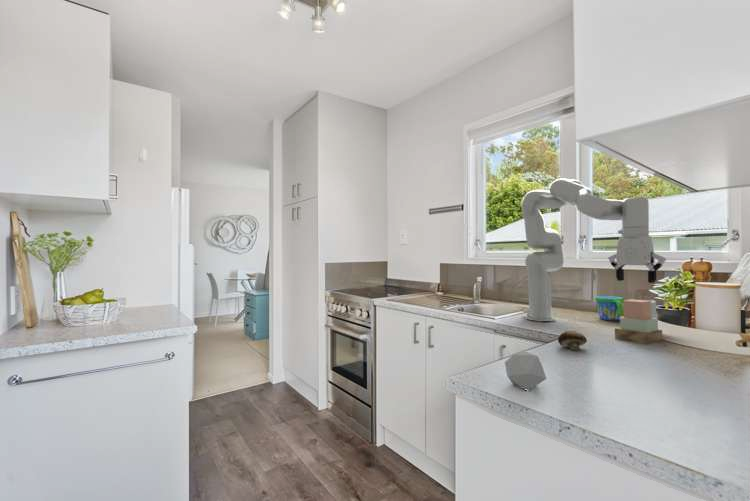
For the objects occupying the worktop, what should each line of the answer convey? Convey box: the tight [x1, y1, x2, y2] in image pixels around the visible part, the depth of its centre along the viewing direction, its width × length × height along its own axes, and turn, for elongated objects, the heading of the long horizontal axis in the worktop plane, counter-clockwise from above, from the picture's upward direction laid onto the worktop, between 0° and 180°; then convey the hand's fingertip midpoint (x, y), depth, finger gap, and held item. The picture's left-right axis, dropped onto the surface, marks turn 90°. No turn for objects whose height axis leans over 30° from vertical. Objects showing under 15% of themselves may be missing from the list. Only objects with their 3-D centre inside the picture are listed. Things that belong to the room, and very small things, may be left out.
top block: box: [619, 316, 659, 333], centre depth 122 cm, size 8×8×4 cm
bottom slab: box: [614, 327, 663, 345], centre depth 122 cm, size 10×10×4 cm
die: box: [504, 350, 547, 391], centre depth 81 cm, size 8×9×10 cm
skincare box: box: [645, 299, 658, 318], centre depth 131 cm, size 6×4×12 cm
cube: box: [622, 298, 652, 320], centre depth 122 cm, size 6×6×6 cm
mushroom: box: [557, 330, 588, 351], centre depth 112 cm, size 8×8×6 cm
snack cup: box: [594, 295, 624, 322], centre depth 159 cm, size 16×10×10 cm
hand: (635, 281), depth 123 cm, fingers open, 9 cm apart
